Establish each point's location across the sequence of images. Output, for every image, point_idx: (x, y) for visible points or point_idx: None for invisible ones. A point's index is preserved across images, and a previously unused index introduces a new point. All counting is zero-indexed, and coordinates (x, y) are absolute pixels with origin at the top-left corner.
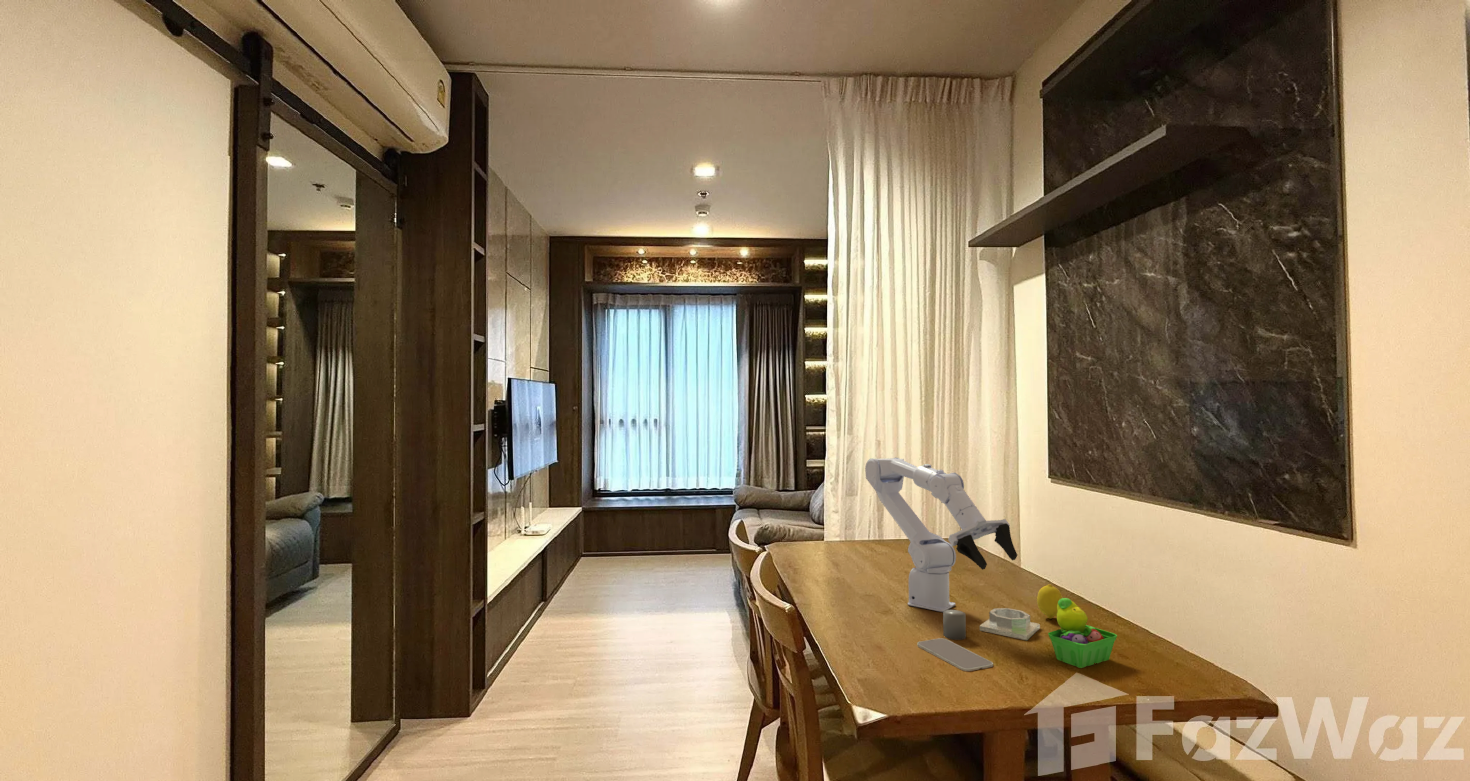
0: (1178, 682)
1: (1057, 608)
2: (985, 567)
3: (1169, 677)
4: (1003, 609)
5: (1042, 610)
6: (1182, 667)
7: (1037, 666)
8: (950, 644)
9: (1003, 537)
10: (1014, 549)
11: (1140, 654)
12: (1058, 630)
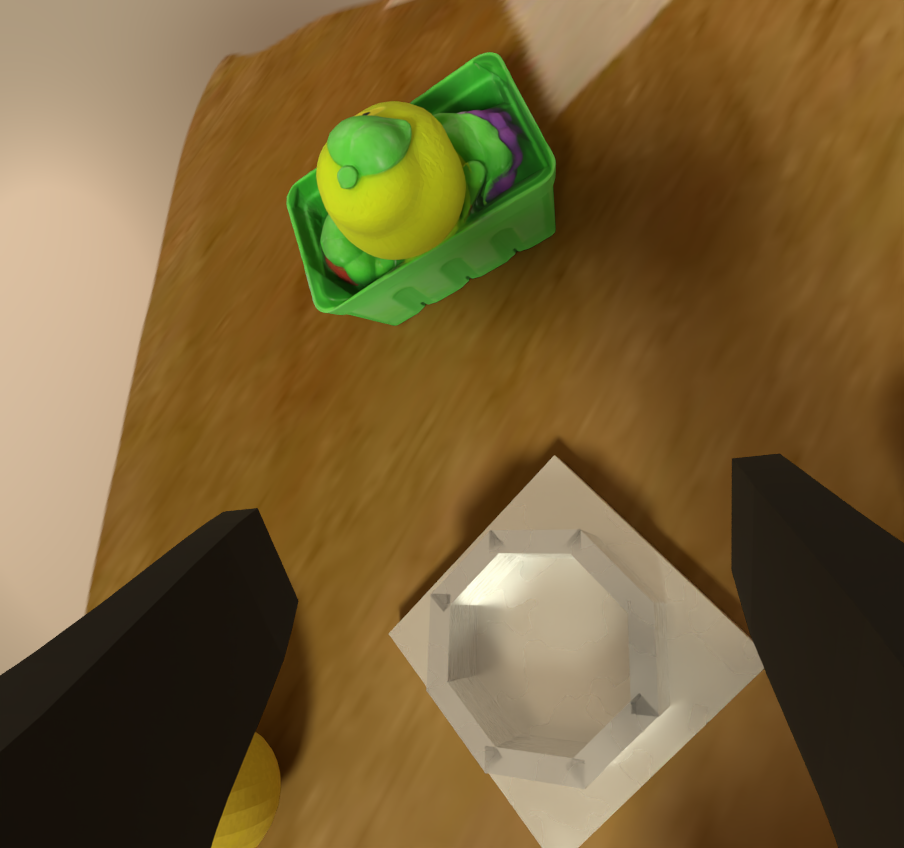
0: (308, 102)
1: (416, 180)
2: (733, 537)
3: (304, 133)
4: (527, 750)
5: (278, 778)
6: (220, 215)
7: (688, 140)
8: None
9: (37, 806)
10: (178, 545)
11: (246, 310)
12: (480, 215)
